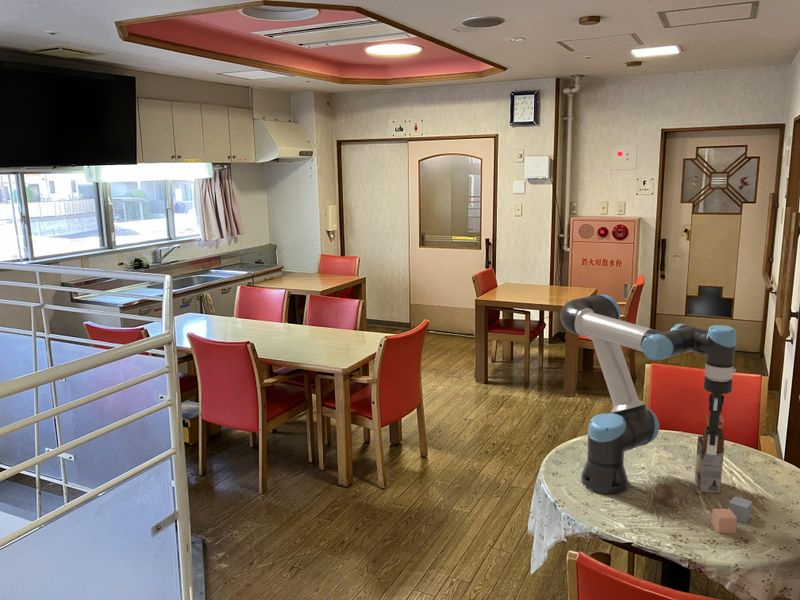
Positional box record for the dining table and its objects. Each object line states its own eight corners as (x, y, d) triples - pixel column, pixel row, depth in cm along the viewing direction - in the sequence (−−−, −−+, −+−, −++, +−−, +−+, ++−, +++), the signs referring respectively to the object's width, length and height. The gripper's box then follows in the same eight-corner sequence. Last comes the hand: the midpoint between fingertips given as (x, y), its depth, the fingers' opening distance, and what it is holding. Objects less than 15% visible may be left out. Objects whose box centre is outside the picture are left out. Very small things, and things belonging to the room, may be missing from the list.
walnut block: (657, 505, 209) (658, 491, 208) (656, 497, 214) (657, 483, 213) (674, 507, 208) (675, 493, 206) (673, 499, 212) (674, 485, 211)
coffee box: (693, 478, 225) (697, 435, 222) (713, 479, 224) (717, 436, 220) (700, 492, 216) (703, 446, 213) (721, 493, 215) (725, 448, 212)
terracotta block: (718, 533, 194) (719, 517, 193) (711, 523, 199) (712, 508, 197) (735, 533, 193) (737, 518, 192) (728, 523, 198) (729, 508, 197)
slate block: (727, 517, 202) (729, 502, 201) (733, 510, 205) (734, 496, 204) (745, 523, 198) (746, 508, 197) (750, 516, 202) (752, 501, 201)
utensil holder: (727, 452, 199) (731, 415, 196) (713, 456, 196) (716, 419, 194) (710, 444, 204) (714, 408, 202) (696, 449, 202) (699, 412, 199)
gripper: (731, 389, 185) (724, 465, 191) (733, 369, 202) (727, 439, 207) (702, 386, 189) (695, 460, 194) (706, 366, 205) (701, 435, 210)
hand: (712, 449), depth 200 cm, fingers closed on utensil holder, 6 cm apart
